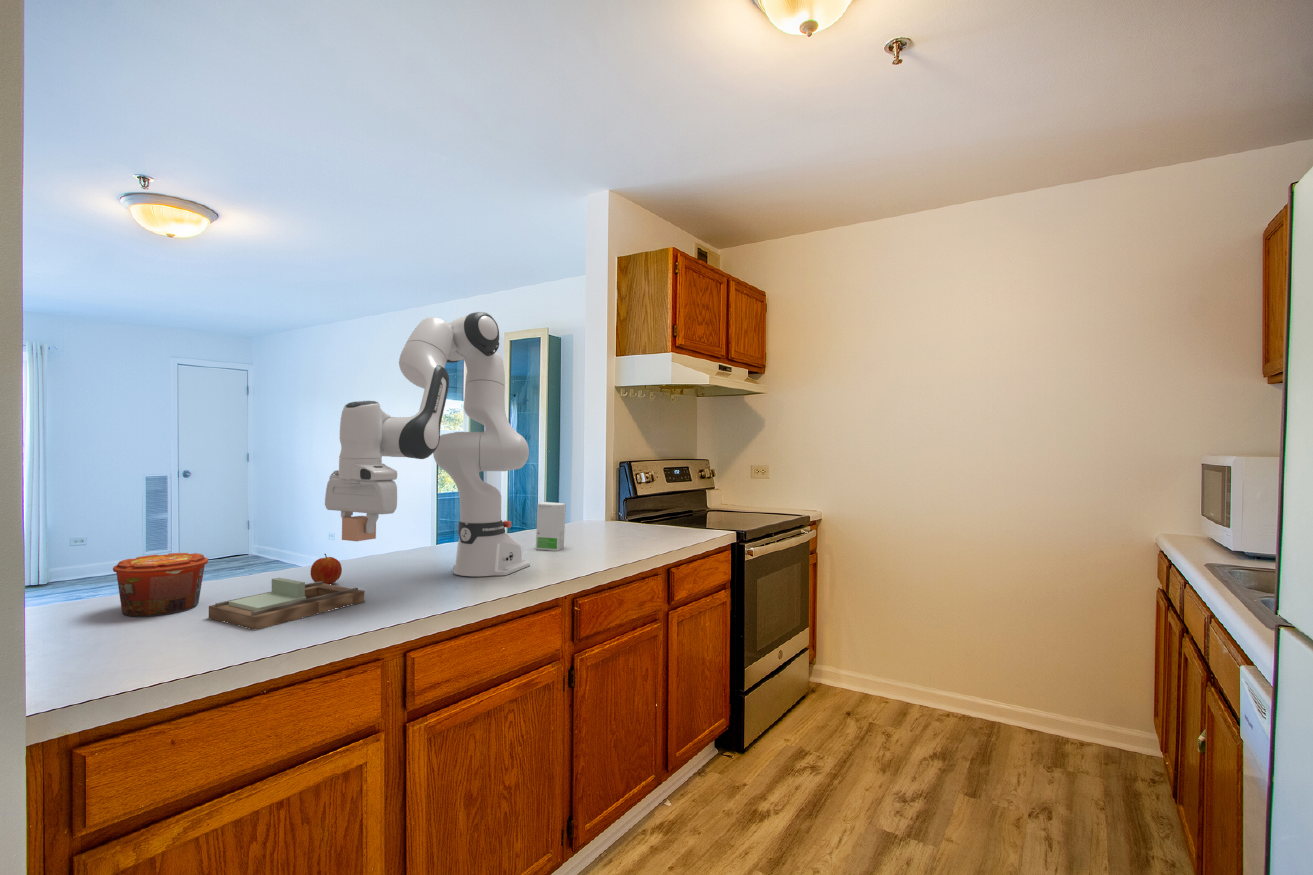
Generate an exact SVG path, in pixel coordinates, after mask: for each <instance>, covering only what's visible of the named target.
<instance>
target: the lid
mask: <svg viewBox="0 0 1313 875" xmlns="http://www.w3.org/2000/svg"><path fill="white" fill-rule="evenodd" d="M305 584H306V581H305V582H304V581H300V580H294V579H289V578H285V577H284V578H283V577H275V578H271V591H269V592H270V593H267V592H265V593H266V594H262V593H260V594H261V595H258V594H255V595H256V596H253V595H251V596H252V597H248V596H246V597H247V598H243V597H241V598H242V599H239V598H236V599H237V600H234V599H232V600H233V601H229V600H228V601H229V605H230V606H234V607H238V608H243V609H247V610H251V611H258V610H262V609H266V608H270V607H275V606H279V605H283V604H288V603H292V602H296V601H300V600H305V599H306V597H305Z"/></svg>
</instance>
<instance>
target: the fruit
mask: <svg viewBox="0 0 1313 875" xmlns="http://www.w3.org/2000/svg"><path fill="white" fill-rule="evenodd" d="M324 556H325V557H320V558H318V559H316V560H315V561H314V562H313V564H312V565H311V568H310V578H311V579H312V581H313V583H314V582H319V581H323V583H325V584H331V585H334V583H336V582H337V581H338V580H339V579H340V577H341V576H342V573H343V571H342V563H341V562H340V561H339V560H338V559H337V558H335V557H333V556H327V554H326V553H324Z"/></svg>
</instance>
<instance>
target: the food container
mask: <svg viewBox="0 0 1313 875" xmlns="http://www.w3.org/2000/svg"><path fill="white" fill-rule="evenodd" d="M208 562H209V559H208V557H205V555H204V554H202V553H196V552H194V553H189V552H176V553H175V552H172V553H167V554H150V555H141V556H136V557H135V558H125V559H123V560H119V561H118V563H117V564H116V565H114V566H113V567H112V571H113V572H114V573H116V578H117V579H116V580H117V585H118V593H119V599H120V606H121V612H122V613H121V614H122V615H123V616H127V617H136V618H137V617H139V618H143V617H154V616H155V617H156V616H164V615H170V614H171V615H172V614H177V613H181V612H185V611H189V610H191V609H194V608H196V606H197V605H199V602H200V595H201V590H202V584H203V583H202V582H203V578H204V577H203V576H204V571H205V565H207V564H208Z"/></svg>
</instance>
